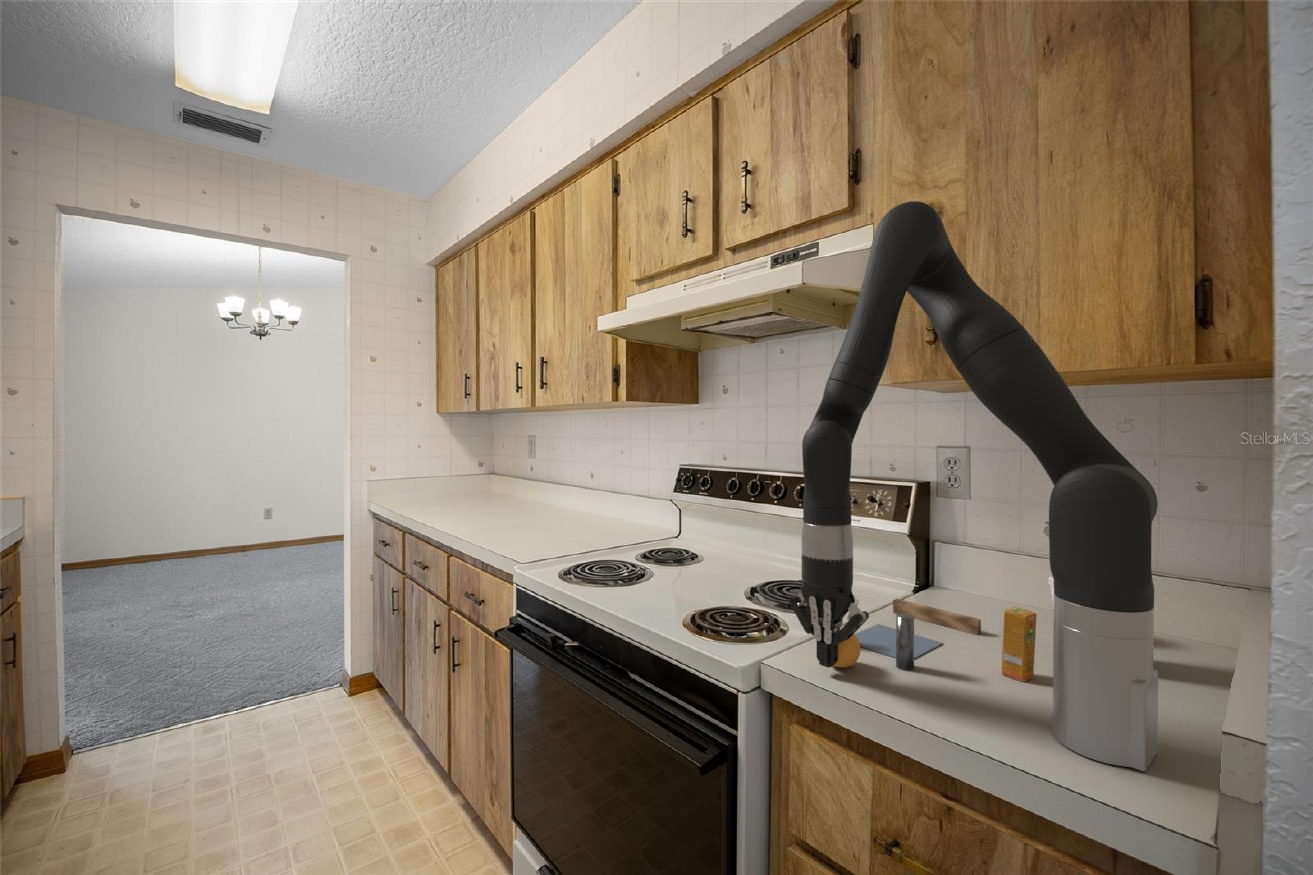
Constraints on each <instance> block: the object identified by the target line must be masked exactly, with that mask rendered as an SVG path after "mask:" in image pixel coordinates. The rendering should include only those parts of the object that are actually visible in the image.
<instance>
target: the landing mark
mask: <svg viewBox="0 0 1313 875" xmlns="http://www.w3.org/2000/svg"><path fill="white" fill-rule="evenodd" d="M854 635H855V636H856V637H857V639H858V641H859V643H860V648H863V649H864V648H865V649H867V650H870V651H872V652H873V651H874V652H875V653H878V654H882V655H885V656H888V657H891V658H893V659H896V628H893V627H890V626H887V625H882V624H879V623H877V624H876V625H873V626H871V627H869V628H866V629H863V630H861V631H859V632H855V633H854ZM943 644H944V642H941V641H938V640H935V639H932V638H931V639H930V638H927V637H924V636H921V635H917V634H914V660H915V659H917V658H920V657H921V656H924V655H925V654H926V653H928V652H930V651H932V650H935V649H936V648H938V647H940V646H942V645H943Z"/></svg>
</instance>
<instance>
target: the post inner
mask: <svg viewBox="0 0 1313 875" xmlns="http://www.w3.org/2000/svg"><path fill="white" fill-rule="evenodd" d="M895 625H896V626H895V629H896V658H895V666H896V668H898V669H899V670H902V671H913V670H914V669H915V659H914V635H915V618H914V616H912V615H909V614H897V613H896V615H895Z"/></svg>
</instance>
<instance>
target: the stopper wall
mask: <svg viewBox="0 0 1313 875" xmlns="http://www.w3.org/2000/svg"><path fill="white" fill-rule="evenodd" d="M892 613H893V614H894V613H895V614H896V615H897V614H909V615H912V616H914V619H916V620H920V621H924V622H928V623H931V624H934V623H936V624H935V625H939V626H942V627H945V628H949V627H950V629H954V630H958V631H961V632H966V633H969V634H971V635H972V634H973V635H977V636H979V635H981V634H982V619H980V618H976V617H972V616H969V615H964V614H960V613H956V612H952V611H949V610H943V609H939V608H936V607H933V606H928V605H924V604H919V603H915V602H911V601H907V600H904V599H900V598H896V599H893V600H892Z"/></svg>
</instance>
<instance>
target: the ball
mask: <svg viewBox="0 0 1313 875" xmlns="http://www.w3.org/2000/svg"><path fill="white" fill-rule="evenodd" d="M842 628H843V627H842V626H841V628H840V630H841V629H842ZM854 634H855V633H854ZM854 634H853V635H852V637H851V638H850V639H848V640H846V641H844V642H841V643H838V661H837V663H835V665H834V666H833V667H836V668H842V669H844V668H849V667H851V666H853V665H854V664H855V663H857V661H858V660H859V658H860V655H861V646H860V643H859V641H858V639H857V637H856V636H855V635H854Z"/></svg>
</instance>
